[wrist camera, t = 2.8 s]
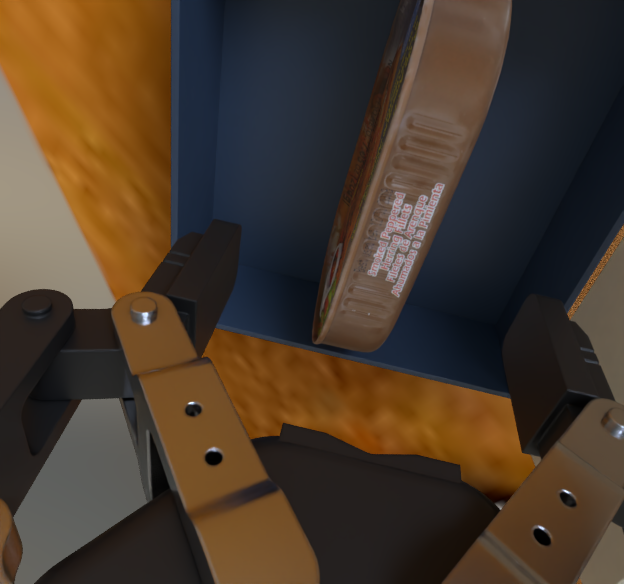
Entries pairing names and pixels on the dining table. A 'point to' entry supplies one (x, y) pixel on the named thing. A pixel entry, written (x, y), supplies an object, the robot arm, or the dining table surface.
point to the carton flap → (620, 376)
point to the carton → (340, 148)
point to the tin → (408, 162)
